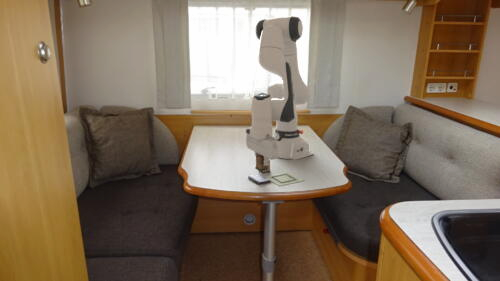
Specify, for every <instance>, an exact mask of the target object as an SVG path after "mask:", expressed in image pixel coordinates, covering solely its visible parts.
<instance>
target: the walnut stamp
mask: <svg viewBox="0 0 500 281" xmlns="http://www.w3.org/2000/svg"><path fill="white" fill-rule="evenodd" d="M264 159H265V158H264V156H263V155H261V154H259V155H257V156H255V168H254V169H255V170H256V171H258V172H259V171H265V170H268V165H267V166H264V165H263V161H264Z"/></svg>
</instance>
